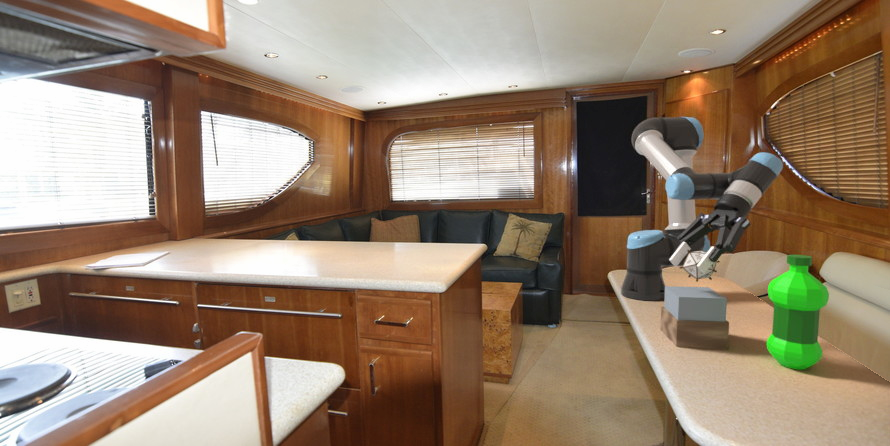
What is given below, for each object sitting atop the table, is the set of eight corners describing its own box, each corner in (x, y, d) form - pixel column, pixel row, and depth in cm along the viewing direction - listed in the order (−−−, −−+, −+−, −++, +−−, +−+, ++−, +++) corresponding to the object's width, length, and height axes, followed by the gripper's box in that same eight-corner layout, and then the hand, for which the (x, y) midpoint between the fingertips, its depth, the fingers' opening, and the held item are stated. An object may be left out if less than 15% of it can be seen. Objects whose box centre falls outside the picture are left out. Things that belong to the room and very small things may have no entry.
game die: (707, 295, 111) (731, 269, 104) (674, 283, 112) (696, 256, 105) (702, 272, 117) (724, 246, 111) (671, 260, 118) (691, 234, 112)
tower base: (660, 330, 121) (661, 306, 121) (706, 332, 119) (708, 307, 119) (676, 347, 110) (677, 320, 109) (727, 349, 108) (729, 322, 107)
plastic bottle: (829, 366, 97) (837, 256, 94) (810, 379, 91) (819, 262, 88) (776, 352, 105) (782, 250, 102) (756, 362, 99) (762, 255, 97)
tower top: (664, 307, 120) (664, 286, 119) (707, 308, 118) (708, 287, 117) (678, 320, 109) (678, 297, 109) (725, 321, 107) (726, 298, 107)
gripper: (784, 214, 105) (730, 284, 102) (709, 209, 125) (663, 267, 122) (769, 193, 103) (714, 264, 100) (696, 191, 123) (648, 250, 120)
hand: (686, 266), depth 111 cm, fingers closed on game die, 8 cm apart
